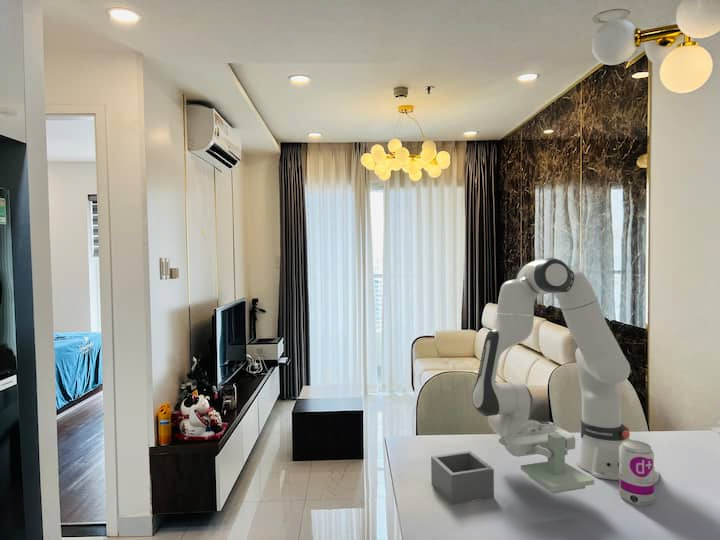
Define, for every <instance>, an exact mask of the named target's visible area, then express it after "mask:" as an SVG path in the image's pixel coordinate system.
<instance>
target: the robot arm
mask: <svg viewBox="0 0 720 540" xmlns="http://www.w3.org/2000/svg"><path fill="white" fill-rule="evenodd" d="M590 283H591V282H589V280H588V278H587V277H586V275H585V273H583V272H582V271H579V270H575V269H573V270H572V269H570V267H569V266H568V265H567V264H566V263H565V262H564V261H562V260H561V259H558V258H553V257H547V258H539V259H535V260H532V261H530V262H527V263H524V264H523V265H522V266H520V267H519V268H518V271H517V272H516V275H515V276H514V278H513V279H509V280H506V281H505V282H503V283H502V285H501V286H500V289H499V290H500V291H499V293H498V295H499V296H498V302H497V307H496V313H497V314H496V318H495V319H496V320H495V323H494V325H493V327H492V329H491V330H490V331H488V332H487V334H486V336H485V340H484V343H483V348H482V351H481V357H480V358H481V359H480V363H479V368H478V373H477V379H476V382H475V384H474V387H473V391H472V394H471V401H472V406H473V408H474V409H475V410H476V411H477V412H478V413H480V414H481V415H482V416H484V417H487V421H488V424H489V426H490V428H491V429H492V430H493V432H494V433H495V434H496V435H498V436H499V437H500V438H499V439H498V442H499V444H501V445H503V446H504V449H505V450H506V451H507V452H508V453H509V454H511V456H513V457H514V456H515V457H526V456H532V455H533V456H534V455H540V456H544V457H547V459H548V458H549V457H553V456H554V455H553V454H554V452H553V450H551V449H548V434H553V433H558V434H560V435H562V436H564V437H565V456H568V454H569V452H568V450H575V448H576V437H575V435H574V434H572V433H571V432H570V431H567V430H565V429H563V428H561V427H558V426H555V424H554V423H553V422H552V421H540V420H534V419H530V417H531V413H532V411H533V405H534V398H533V395H532V392H531V391H530V389H529V387H528V386H526V384H524V383H523V382H519V381H517V382H516V381H512V382H511V381H509V382H508V381H507V382H496V376H497V372H498V367H499V363H500V358H501V356H502V354H503V353H504V352H505V351H506V350H508V349H510V348H512V347H513V346H517V345H518V344H522V343H523V342H524V341H526V340H528V338H529V337H530V336H531V335H532V332H533V329H534V322H535V321H534V316H535V314H534V313H535V308H534V305H535V301H536V299H537V297H538V296H539V295H547V294H553V295H554V296H555V298H556V300H557V301H558V305H559V307H560V310H561V312H562V315H563V318H564V322H565V324H566V326H567V328H568V331H569V333H570V335H571V336H572V338H573V340H574V342H575V344H576V346H577V348H576V349H575V355H574V357H575V361H576V363H577V364H576V365H577V374H578V381H579V385H580V392H581V420H580V424H579V425H580V426H579V431H580V432H579V433H580V434H579V435H580V438H581V441H580V442H581V443H580V449H579V453H578V458H577V460H576V464H577V466H578V467H579V468H581V469H582V470H584V471H586V472H588V473H590V474H592V475H593V476H594V477H595V478H598V479H604V480H605V479H606V480H613V481H619V447H620V445H621V442H622V441H625V440H632V438H630V435H631V434H630V431H629V427H628V425H624V424H623V423H622V401H621V400H622V399H621V395H619V391H618V386H617V385H620V384H623V383H624V382H625V381H626V380H627V379H628V378H629V376H630V374H631V366H630V362H629V361H628V359H627V358H626V356H625V354H624V353H623V351H622V349H621V347H620V345H619V343H618V341H617V339H616V337H615V336H614V334H613V332H612V331H611V328H610V326H609V325H608V323H607V321H606V318H605V316H604V313H603V311H602V308H601V306H600V304H599V303H600V302H599V300H598V299H597V298H598V297H597V295H596V293H595V290H594V289H593V287H592V285H591V284H590ZM659 480H660V474H659V471H658V469H657V468H656V466H654V485H655V484H657V483H658V482H659Z"/></svg>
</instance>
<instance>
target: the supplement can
mask: <svg viewBox="0 0 720 540" xmlns="http://www.w3.org/2000/svg"><path fill="white" fill-rule="evenodd" d="M654 467H655V453H654V451H653V449H652V446H651V445H650V444H648V443H646V442H644V441H639V440H633V439H631V440H625V441H622V442H621V445H620V447H619V480H618V483H619V484H618V485H619V486H618V493H619V496H620V497H621V498H622V499H623V500H624V501H626V502H628V503H629V504H632V505H635V506H643V507H645V506H650V505H651V504H653V503H654V501H655V484H654Z"/></svg>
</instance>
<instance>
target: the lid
mask: <svg viewBox="0 0 720 540" xmlns="http://www.w3.org/2000/svg"><path fill="white" fill-rule="evenodd" d="M548 449H551V450H553V452H554V454H553V455H554V456H553V457H549V458H548V457H547V461H542V462H535V463H529V464H528V463H527V464H522V465H520V470H521V471H522V472H523V473H525V474H526V475H528V477H529V478H530V479H531V480H533V481H534V482H536V483H537V484H538V485H540V486H541V487H543V488H544V489H546V490H547V491H548V492H550V493H551V494H552V495H554V494H559V493H566V492H572V491H577V490H584V489H586V487H588V486H592V485H595V479H594V478H592V477H591V476H589V475H587V474H585V473H583V472H582V471H580V470H579V469H576V468H575V467H573V466H571V465H570V464H568V463H566V459H565V458H566V455H565V437H564V436H562V435H560V434H558V433H553V434H548Z"/></svg>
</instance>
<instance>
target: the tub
mask: <svg viewBox="0 0 720 540" xmlns="http://www.w3.org/2000/svg"><path fill="white" fill-rule="evenodd" d="M430 461H431V462H430V465H431V467H430V470H431V479H430V480H431V484H432V485H433V487H434V488H435V489H436V490H439V491H438V492H439V493H440V494H441V495H442V496H443V498H445V499H446V500H447V501H448V502H449V503H450V505H457V504H462V503H461V502H463V503H467V502H466V501H469V502H473V501H472V500H475V501H480V500H479V499H481V500H485V498H487V499H490V498H495V482H494V481H495V475H494V474H495V471H494V468H493V467H492V466H491V465H489V463H487V462H485V461H484V460H483V459H481V458H480V457H479V456H477V455H476V454H475V453H473V452H472V451H471V450H469V451H461V452H455V453H445V454H439V455H433V456H430ZM477 499H478V500H477Z"/></svg>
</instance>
